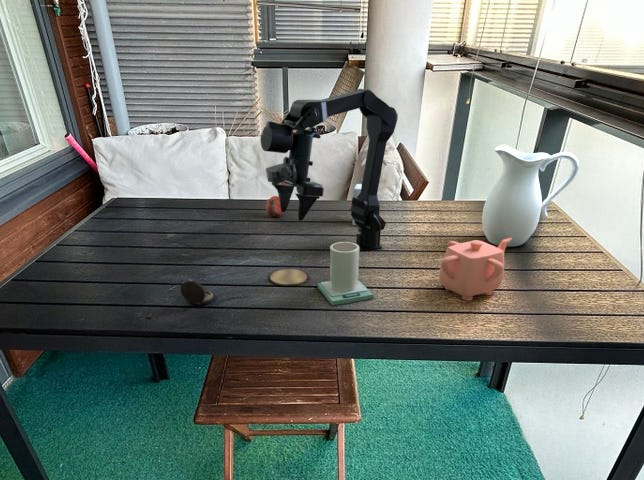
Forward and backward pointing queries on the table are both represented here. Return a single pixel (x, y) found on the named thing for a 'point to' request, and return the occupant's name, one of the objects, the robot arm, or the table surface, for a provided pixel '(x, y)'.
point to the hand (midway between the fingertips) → (291, 216)
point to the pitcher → (519, 195)
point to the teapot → (473, 267)
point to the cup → (344, 266)
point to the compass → (196, 293)
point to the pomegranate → (274, 206)
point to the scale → (344, 294)
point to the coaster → (288, 277)
